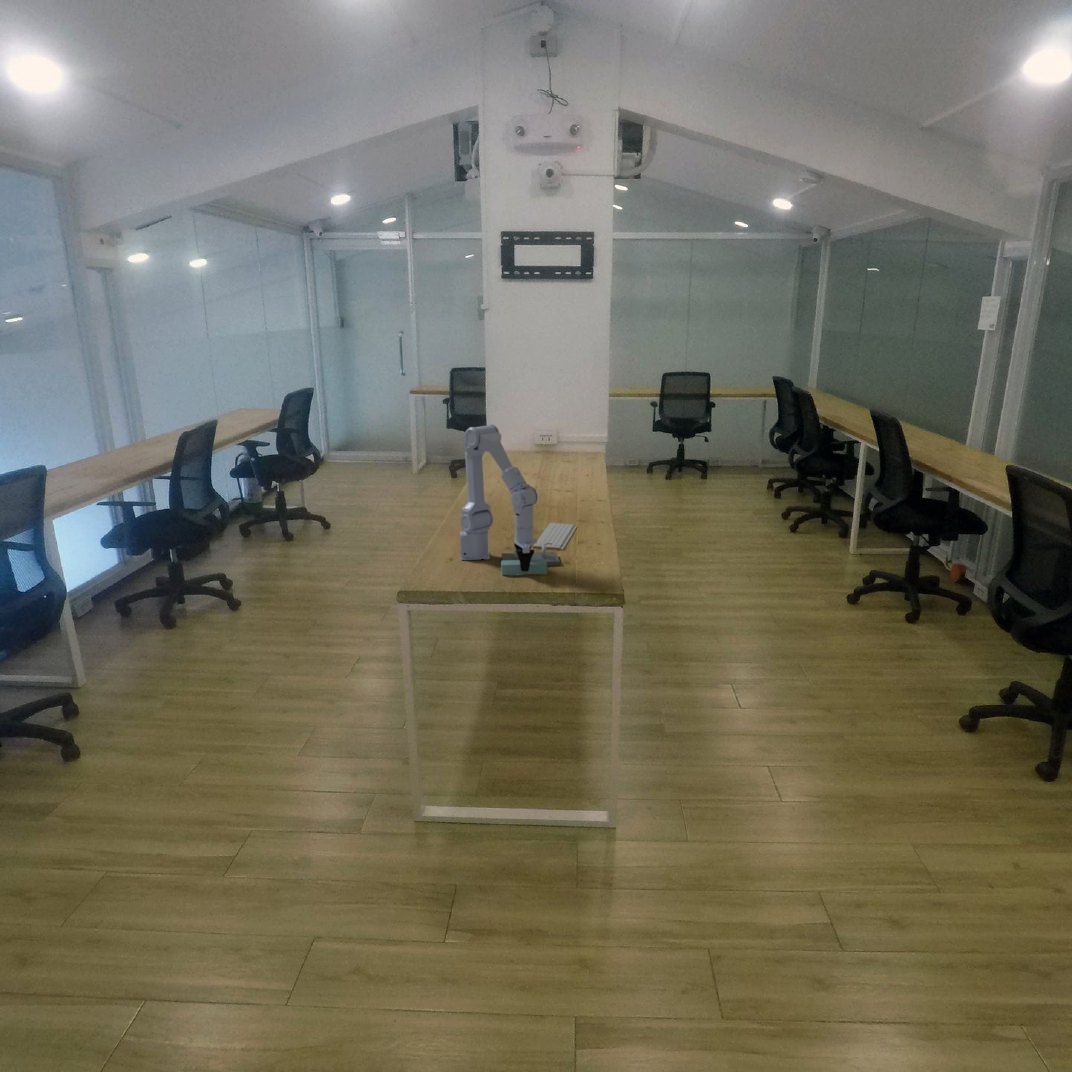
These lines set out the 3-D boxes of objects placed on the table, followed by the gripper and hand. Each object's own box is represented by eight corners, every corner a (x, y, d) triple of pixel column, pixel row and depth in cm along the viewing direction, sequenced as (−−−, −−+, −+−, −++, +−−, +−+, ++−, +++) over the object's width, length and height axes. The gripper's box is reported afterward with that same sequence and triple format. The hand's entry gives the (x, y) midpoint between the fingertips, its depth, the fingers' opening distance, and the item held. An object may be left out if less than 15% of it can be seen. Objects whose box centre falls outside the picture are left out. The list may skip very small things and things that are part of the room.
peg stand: (503, 567, 240) (503, 550, 238) (501, 557, 250) (501, 541, 248) (559, 565, 242) (559, 549, 240) (555, 556, 251) (555, 540, 250)
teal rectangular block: (502, 575, 233) (502, 565, 232) (501, 571, 237) (501, 560, 236) (547, 574, 234) (547, 563, 233) (545, 569, 238) (545, 559, 237)
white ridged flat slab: (581, 528, 286) (550, 526, 289) (581, 520, 286) (550, 519, 288) (567, 552, 257) (532, 550, 260) (567, 544, 257) (532, 542, 259)
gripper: (539, 532, 225) (539, 575, 228) (534, 519, 238) (534, 560, 242) (516, 533, 224) (516, 576, 228) (512, 520, 238) (512, 561, 242)
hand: (524, 568), depth 235 cm, fingers closed on teal rectangular block, 4 cm apart
